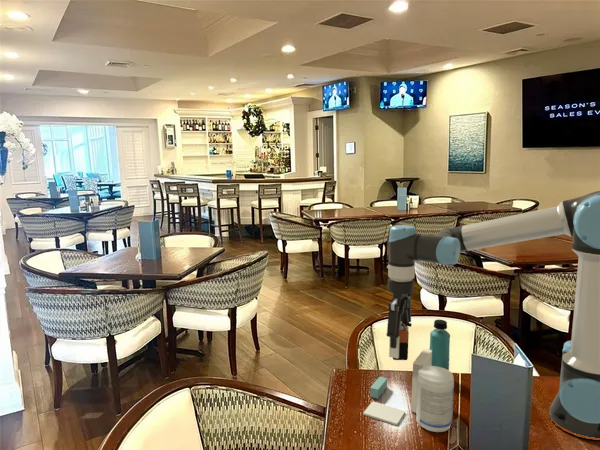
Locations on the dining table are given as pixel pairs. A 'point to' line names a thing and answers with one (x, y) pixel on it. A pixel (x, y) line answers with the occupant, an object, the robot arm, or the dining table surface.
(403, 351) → the battery
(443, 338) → the beverage bottle
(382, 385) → the block
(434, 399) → the supplement tub
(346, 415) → the dining table surface
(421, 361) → the white u-shaped bracket
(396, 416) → the mat
